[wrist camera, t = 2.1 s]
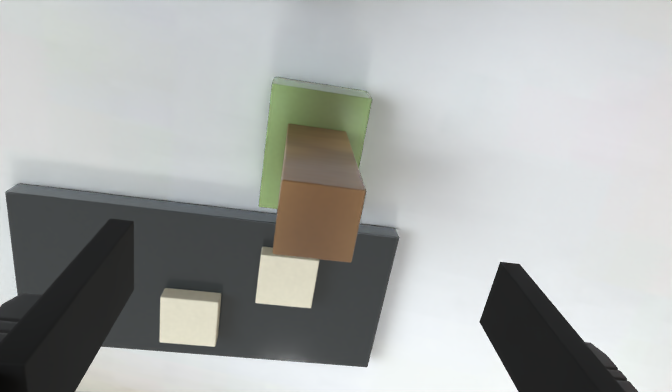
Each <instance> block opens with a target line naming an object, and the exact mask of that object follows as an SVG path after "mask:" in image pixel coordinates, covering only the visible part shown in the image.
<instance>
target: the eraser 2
mask: <svg viewBox="0 0 672 392" xmlns="http://www.w3.org/2000/svg"><path fill="white" fill-rule="evenodd" d="M272 251H273V248H271V247H262V251H261V257H260V266H259V274H258V283H257V292H256V300H255V303H259V304H270V305H281V306H291V307H302V308H311V306H312V300H313V294H314V289H315V283H316V277H317V271H318V266H319V259H313V258H303V257H294V256H285V255H275V254H273V253H272Z"/></svg>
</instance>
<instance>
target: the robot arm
mask: <svg viewBox="0 0 672 392" xmlns="http://www.w3.org/2000/svg"><path fill="white" fill-rule="evenodd" d="M133 291H134V221H129V220H120V219H111V218H110V219H109V220H108V221H107V222H106V223H105V225H104V226H103V227H102V228H101V229H100V230H99V231H98V232H97V234H96V235H95V236H94V237H93V238H92V239H91V240H90V242H89V243H88V244H87V245H86V246H85V247H84V248H83V249H82V251H81V252H80V253H79V254H78V255H77V256H76V257H75V258H74V260H73V261H72V262H71V263H70V264H69V265H68V266H67V268H66V269H65V270H64V271H63V272H62V273H61V274H60V275H59V277H58V278H57V279H56V280H55V281H54V282H53V283H52V284H51V286H50V287H49V288H48V289H47V290H46V291H45V292H44V294H43V295H42V294H31V293H22V294H20V295H18V296H16V297H14V298H13V299H11V300H9V301H7V302H5V303H4V304H2V305H1V306H0V392H75V390H76V389H77V387H78V385H79V383H80V382H81V380H82V378H83V377H84V375H85V373H86V371H87V370H88V368H89V366H90V365H91V363H92V361H93V359H94V358H95V356H96V354H97V353H98V351H99V349H100V347H101V346H102V344H103V342H104V340H105V339H106V337H107V335H108V334H109V332H110V330H111V328H112V327H113V325H114V323H115V322H116V320H117V318H118V316H119V315H120V313H121V311H122V310H123V308H124V306H125V304H126V303H127V301H128V299H129V298H130V296H131V294H132V292H133ZM480 323H481V325H482V327H483V329H484V331H485V332H486V334H487V336H488V338H489V340H490V341H491V343H492V345H493V347H494V349H495V350H496V352H497V354H498V356H499V358H500V359H501V361H502V363H503V365H504V367H505V368H506V370H507V372H508V374H509V375H510V377H511V379H512V381H513V383H514V384H515V386H516V388H517V390H518V392H638V391H637V390H636V389H635V387H634V386H633V385H632V384H631V383H630V382H629V381H627V378H626V377H625V376H624V375H623V374H622V372H621V371H619V370H618V368H617V367H616V365H615V364H614V363H613V362H612V361H611V360H610V359H609V357H608V356H607V355H606V354H605V353H603V352H602V351H601V350H599V349H598V348H597V347H595V346H594V345H593V344H591V343H587V342H584V341H583V340H582V338H581V337H580V336H579V335H578V334H577V332H576V331H575V330H574V329H573V328H572V326H571V325H570V324H569V323H568V322H567V320H566V319H565V318H564V317H563V316H562V314H561V313H560V312H559V311H558V310H557V308H556V307H555V306H554V305H553V304H552V302H551V301H550V300H549V299H548V298H547V296H546V295H545V294H544V293H543V292H542V290H541V289H540V288H539V287H538V286H537V284H536V283H535V282H534V281H533V280H532V278H531V277H530V276H529V275H528V274H527V272H526V271H525V270H524V269H523V268H522V266H521V265H520V264H514V263H505V262H500V264H499V267H498V270H497V273H496V276H495V279H494V282H493V285H492V288H491V290H490V293H489V296H488V299H487V302H486V305H485V308H484V311H483V314H482V316H481V319H480Z"/></svg>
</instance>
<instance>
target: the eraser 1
mask: <svg viewBox="0 0 672 392" xmlns="http://www.w3.org/2000/svg"><path fill="white" fill-rule="evenodd" d="M220 305H221V293H215V292H204V291H194V290H183V289H172V288H165V289H164V291H163V293H162V295H161V297H160V339H159V341H160V342H161V343H173V344H186V345H198V346H211V347H215V346H216V342H217V338H218V329H219V317H220Z"/></svg>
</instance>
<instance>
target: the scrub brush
mask: <svg viewBox="0 0 672 392" xmlns="http://www.w3.org/2000/svg"><path fill="white" fill-rule="evenodd" d="M371 103H372V98H371V97H370V95H369V94H368V93H367V91H362V90H356V89H349V88H343V87H336V86H330V85H324V84H317V83H311V82H304V81H298V80H292V79H285V78H279V77H275V78H274V80H273V83H272V89H271V98H270V107H269V116H268V126H267V135H266V144H265V153H264V162H263V171H262V180H261V189H260V199H259V207H265V208H273V209H277V217H276V225H275V234H274V243H273V251H272V253H273V254H275V255H285V256H294V257H303V258H313V259H322V260H331V261H341V262H352V258H353V253H354V248H355V243H356V238H357V233H358V229H359V224H360V219H361V214H362V209H363V204H364V199H365V195H366V189H365V186H364V184H363V181H362V178H361V175H360V172H359V164H360V159H361V154H362V149H363V144H364V139H365V134H366V128H367V123H368V118H369V113H370V108H371Z"/></svg>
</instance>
